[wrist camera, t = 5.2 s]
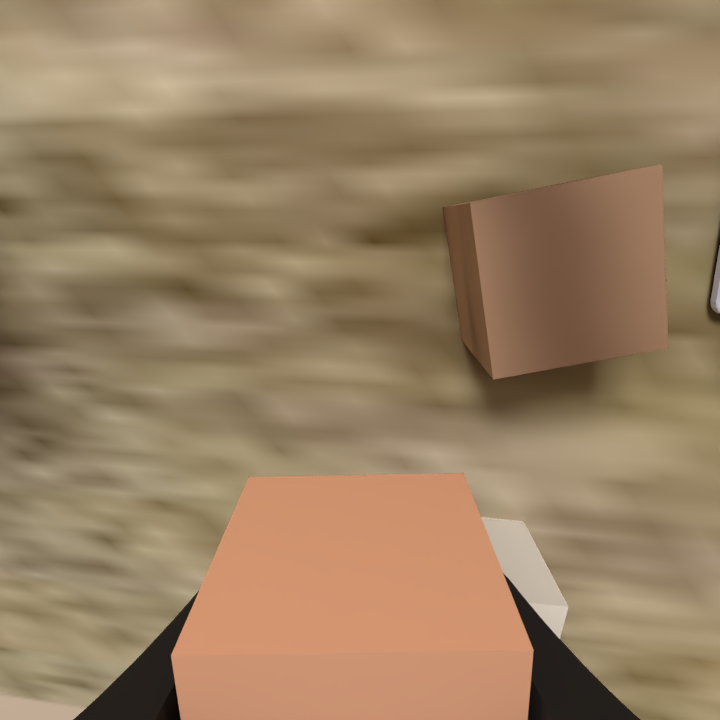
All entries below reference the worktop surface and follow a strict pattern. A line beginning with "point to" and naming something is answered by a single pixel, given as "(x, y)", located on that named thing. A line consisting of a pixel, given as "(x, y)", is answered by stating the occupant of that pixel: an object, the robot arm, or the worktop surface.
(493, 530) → the beige cube
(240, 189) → the worktop surface
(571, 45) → the worktop surface
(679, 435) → the worktop surface
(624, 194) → the walnut cube
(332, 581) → the terracotta cube
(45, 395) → the worktop surface
